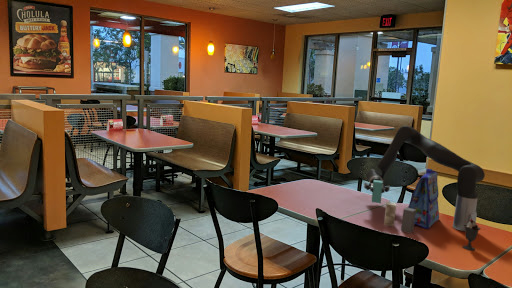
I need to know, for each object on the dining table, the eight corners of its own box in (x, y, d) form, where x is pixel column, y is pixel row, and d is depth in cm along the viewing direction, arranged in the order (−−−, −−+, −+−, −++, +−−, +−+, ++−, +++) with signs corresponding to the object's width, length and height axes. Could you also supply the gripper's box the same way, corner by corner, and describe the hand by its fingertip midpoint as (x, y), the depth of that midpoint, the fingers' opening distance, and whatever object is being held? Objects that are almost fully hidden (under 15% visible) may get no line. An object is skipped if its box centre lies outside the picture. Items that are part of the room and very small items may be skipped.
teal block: (380, 200, 219) (382, 180, 217) (380, 203, 214) (382, 182, 213) (371, 199, 220) (373, 179, 218) (371, 202, 215) (373, 181, 214)
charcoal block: (413, 230, 202) (416, 209, 200) (410, 233, 198) (412, 211, 197) (404, 228, 205) (406, 207, 203) (400, 230, 201) (403, 209, 199)
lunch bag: (429, 230, 205) (436, 174, 200) (401, 222, 213) (408, 168, 208) (439, 219, 222) (447, 167, 217) (414, 213, 230) (420, 163, 225)
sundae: (462, 244, 189) (467, 212, 186) (478, 248, 185) (483, 216, 182) (458, 248, 184) (463, 216, 181) (475, 252, 179) (480, 220, 177)
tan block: (393, 223, 210) (395, 203, 209) (393, 226, 206) (396, 205, 204) (384, 222, 212) (386, 201, 210) (384, 225, 207) (386, 204, 205)
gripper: (363, 175, 231) (364, 182, 214) (390, 178, 228) (392, 185, 211) (362, 188, 232) (362, 196, 216) (388, 191, 229) (391, 199, 212)
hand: (377, 190), depth 213 cm, fingers closed on teal block, 4 cm apart
